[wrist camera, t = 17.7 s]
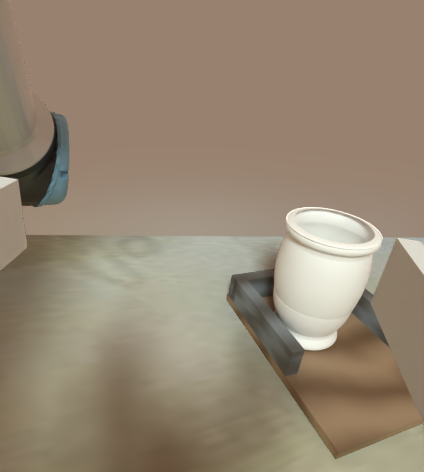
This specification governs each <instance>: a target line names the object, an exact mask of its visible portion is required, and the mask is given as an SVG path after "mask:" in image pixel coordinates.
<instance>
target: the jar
mask: <svg viewBox="0 0 424 472" xmlns="http://www.w3.org/2000/svg"><path fill="white" fill-rule="evenodd" d="M285 226H286V229H287V233H286V235H285V237H284V239H283V241H282V243H281V246H280V249H279V252H278V255H277V259H276V263H275V270H274V290H273V301H274V307H275V311H274V313H275V314H276V315H277V317H278V318H279V319H280V320H281V321H282V323H283V324H284V325H285V326H286V328H287V329H288V330H289V331H290V332H291V334H292V335H293V336H294V337H295V339H296V340H297V341H298V342H299V343H300V345H301V346H302V347H303V348H304V349H305V350H314V351H315V350H323V349H326V348H328V347H330V346H331V345H333V344H334V342H335V341H336V338H337V330H338V329H339V328H340V327H341V326H342V325H343V324H344V323H345V322H346V320H347V319H348V317H349V316H350V314H351V312H352V310H353V309H354V307H355V306H356V304H357V303H358V301H359V300H360V298H361V296H362V294H363V292H364V290H365V287H366V285H367V282H368V278H369V275H370V271H371V265H372V253H374V252H376V251H377V250H378V249H379V248H380V246H381V243H382V235H381V233H380V232H379V230H377V228H375V227H374V226H373V225H372V224H370V223H368V222H367V221H365V220H363V219H361V218H359V217H356V216H354V215H351V214H348V213H344V212H341V211H337V210H333V209H327V208H317V207H305V208H298V209H295V210H292V211H290V212H289V213H288V214H287V216H286V221H285Z"/></svg>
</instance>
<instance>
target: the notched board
mask: <svg viewBox="0 0 424 472" xmlns="http://www.w3.org/2000/svg"><path fill="white" fill-rule="evenodd" d="M274 270H275V269H271V270H264V271H257V272H250V273H243V274H236V275H232V279H231V285H230V291H229V294H227V301H228V302H229V304H230V305H231V307H232V308H233V310H234V311H235V313H236V314H237V316H238V317H239V318H240V320H241V321H242V323H243V324H244V326H245V327H246V329H247V330H248V332H249V333H250V335H251V336H252V338H253V339H254V340H255V342H256V343H257V345H258V346H259V348H260V349H261V351H262V352H263V354H264V355H265V357H266V358H267V359H268V361H269V362H270V364H271V365H272V367H273V368H274V370H275V371H276V373H277V374H278V376H279V377H280V379H281V380H282V381H283V383H284V384H285V386H286V387H287V389H288V390H289V392H290V393H291V395H292V396H293V398H294V399H295V401H296V402H297V403H298V405H299V406H300V408H301V409H302V411H303V412H304V414H305V415H306V417H307V418H308V420H309V421H310V422H311V424H312V425H313V427H314V428H315V430H316V431H317V433H318V434H319V436H320V437H321V439H322V440H323V442H324V443H325V444H326V446H327V447H328V449H329V450H330V452H331V453H332V455H333V456H334V458H335V459H337V458H339V457H342V456H344V455H347V454H349V453H352V452H354V451H356V450H359V449H361V448H364V447H366V446H369V445H371V444H373V443H376V442H378V441H381V440H383V439H385V438H388V437H390V436H393V435H395V434H398V433H400V432H402V431H405V430H407V429H410V428H412V427H415V426H417V425H419V424H422V423H423V422H422V420H421V418H420V415H419V413H418V411H417V409H416V406H415V404H414V402H413V399H412V397H411V395H410V393H409V390H408V388H407V386H406V383H405V381H404V379H403V377H402V374H401V372H400V370H399V367H398V365H397V363H396V361H395V358H394V356H393V354H392V351H391V349H390V347H389V345H388V342H387V340H386V338H385V335H384V333H383V331H382V329H381V326H380V324H379V322H378V319H377V317H376V315H375V312H374V310H373V308H372V306H371V301H372V298H373V296H374V295H372V294H371V293H370V292H369V291H367V290H366V289H365V290H364V292H363V294H362V296H361V298H360V300H359V301H358V303H357V304H356V306H355V307H354V309H353V310H352V312H351V314H350V316H349V317H348V319H347V320H346V322H345V323H344V324H343V325H342V326H341V327H340V328H339V329H338V330H337V338H336V341H335V342H334V344H333V345H331V346H330V347H328V348H326V349H323V350H315V351H314V350H305V349H304V348H303V347H302V346H301V345H300V343H299V342H298V341H297V340H296V339H295V337H294V336H293V335H292V334H291V332H290V331H289V330H288V329H287V328H286V326H285V325H284V324H283V323H282V321H281V320H280V319H279V318H278V317H277V315H276V314H275V313H274V311H275V307H274V301H273V290H274Z"/></svg>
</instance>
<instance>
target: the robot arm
mask: <svg viewBox="0 0 424 472" xmlns="http://www.w3.org/2000/svg"><path fill="white" fill-rule="evenodd" d="M68 170H69V131H68V123H67V120H66V118H65V117H64V116H63V115H60V114H56V113H54V112H50V111H49V109H48V107H47V106H46V104H45V103H44V102H43V101H42V100H41V99H40V98H39V97H38V96H37V95H36V94H35V93H33V92H32V91H31V88H30V84H29V79H28V75H27V71H26V67H25V62H24V58H23V54H22V50H21V45H20V41H19V37H18V32H17V29H16V24H15V20H14V16H13V11H12V7H11V3H10V0H0V271H1V270H2V269H3V268H4V267H5V266H6V265H8V264H9V263H10V262H11V261H12V260H13V259H14V258H16V257H17V256H18V255H19V254H20V253H21V252H23V251H24V250H25V249H26V248H27V239H26V232H25V225H24V218H23V211H22V206H34V207H39V206H42V205H52V204H58V203H61V202H62V201H63V200H64V199H65V197H66V194H67V189H68ZM371 306H372V308H373V310H374V312H375V315H376V317H377V319H378V322H379V324H380V326H381V329H382V331H383V333H384V335H385V338H386V340H387V342H388V345H389V347H390V349H391V351H392V354H393V356H394V358H395V361H396V363H397V365H398V367H399V370H400V372H401V374H402V377H403V379H404V381H405V383H406V386H407V388H408V390H409V393H410V395H411V397H412V399H413V402H414V404H415V406H416V409H417V411H418V413H419V415H420V418H421V420H422V422H423V425H424V246H423V244H422V243H421V242H420V241H414V240H407V239H401V238H397V239H396V241H395V244H394V246H393V249H392V251H391V254H390V256H389V259H388V261H387V264H386V266H385V268H384V271H383V273H382V276H381V278H380V281H379V283H378V286H377V288H376V291H375V293H374V296H373V298H372V301H371Z"/></svg>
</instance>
